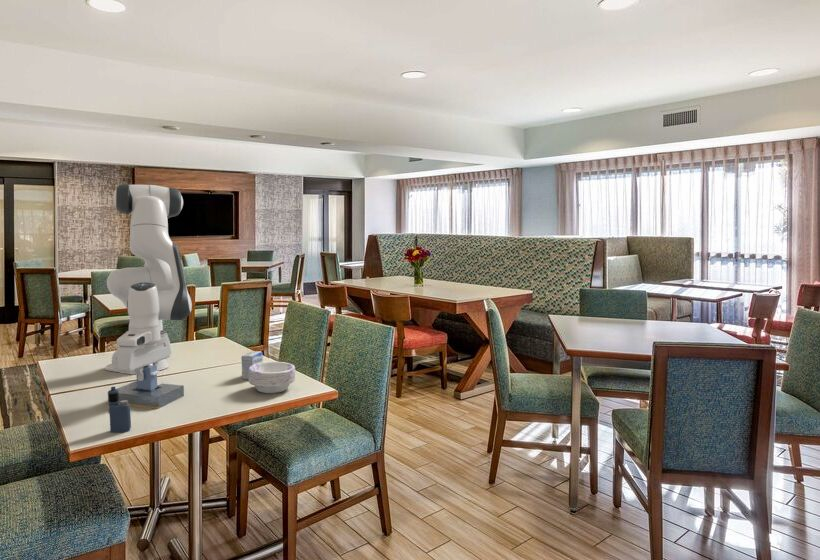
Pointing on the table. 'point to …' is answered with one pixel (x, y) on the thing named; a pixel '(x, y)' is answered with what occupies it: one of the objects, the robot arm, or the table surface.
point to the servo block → (148, 378)
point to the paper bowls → (271, 376)
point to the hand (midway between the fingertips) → (146, 378)
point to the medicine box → (250, 362)
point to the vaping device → (118, 412)
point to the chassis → (150, 395)
